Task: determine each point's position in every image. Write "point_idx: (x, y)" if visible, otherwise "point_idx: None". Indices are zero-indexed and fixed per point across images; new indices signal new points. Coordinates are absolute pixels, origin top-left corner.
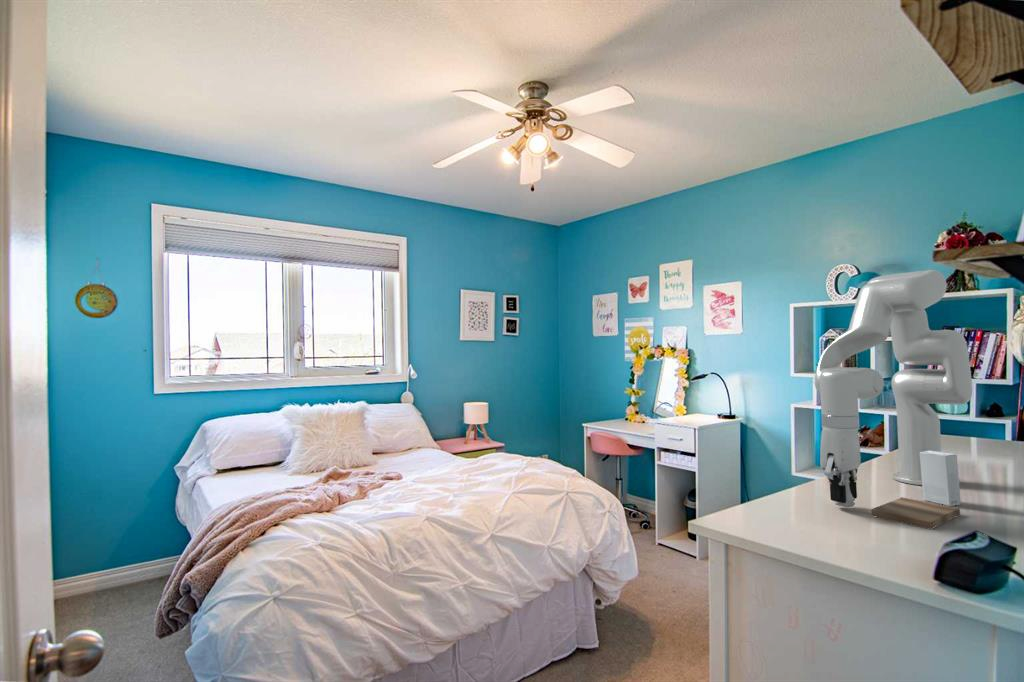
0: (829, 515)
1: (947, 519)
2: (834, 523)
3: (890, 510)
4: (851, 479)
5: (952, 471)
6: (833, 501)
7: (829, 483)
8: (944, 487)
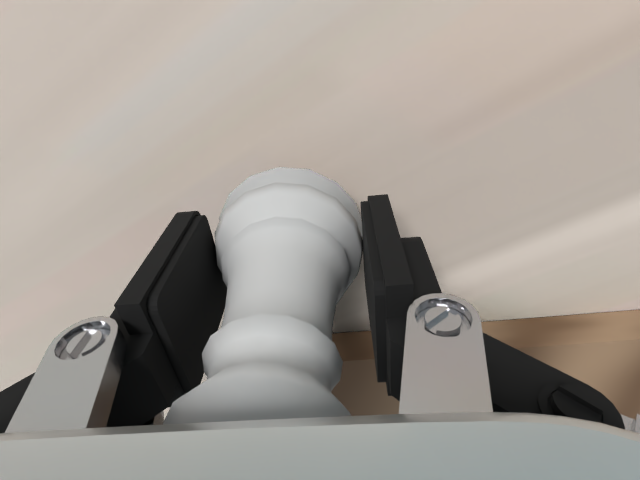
0: (87, 238)
1: None
2: (9, 317)
3: (358, 406)
4: (391, 392)
5: None
6: (241, 186)
7: (80, 323)
8: None
